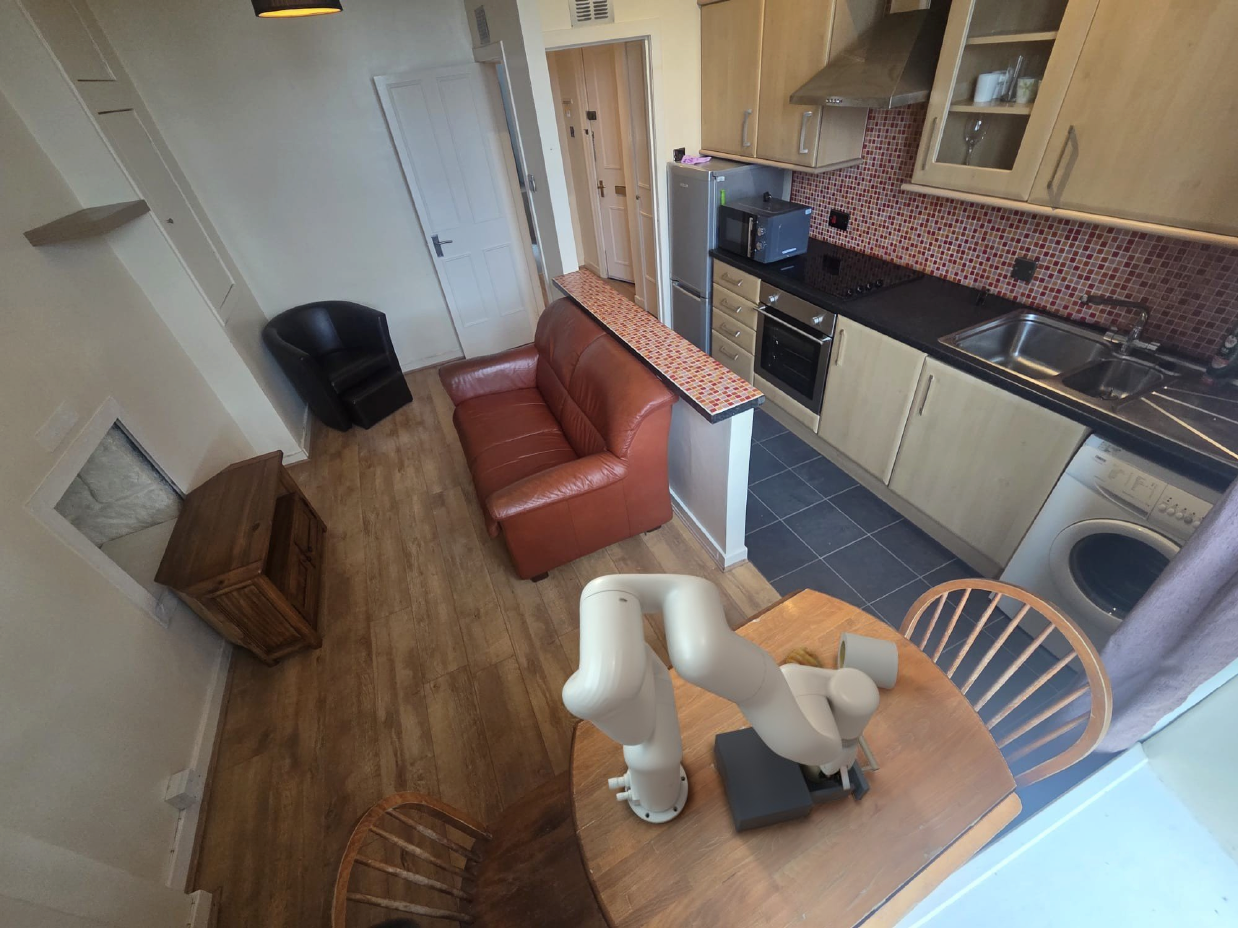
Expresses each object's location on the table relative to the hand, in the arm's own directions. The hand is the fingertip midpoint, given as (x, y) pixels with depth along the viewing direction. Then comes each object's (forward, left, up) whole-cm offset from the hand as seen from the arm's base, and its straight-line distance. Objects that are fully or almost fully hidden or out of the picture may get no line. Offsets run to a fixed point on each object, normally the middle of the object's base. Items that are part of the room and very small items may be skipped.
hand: (819, 756), depth 97 cm
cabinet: (-11, 0, -7) cm, 14 cm away
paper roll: (0, 0, -5) cm, 5 cm away
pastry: (+7, +20, -8) cm, 22 cm away
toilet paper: (+20, +17, -8) cm, 27 cm away
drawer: (+3, 0, -7) cm, 7 cm away
